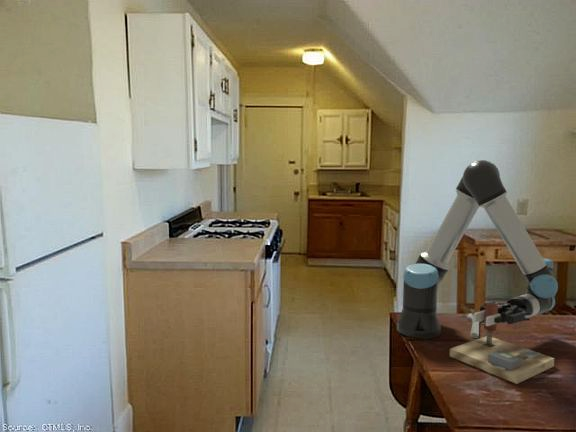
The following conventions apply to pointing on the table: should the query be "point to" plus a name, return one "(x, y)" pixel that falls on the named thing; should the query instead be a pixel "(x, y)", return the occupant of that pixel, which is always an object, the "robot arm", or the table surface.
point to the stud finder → (504, 360)
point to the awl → (490, 310)
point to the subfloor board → (479, 352)
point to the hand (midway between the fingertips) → (480, 319)
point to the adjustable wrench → (474, 326)
